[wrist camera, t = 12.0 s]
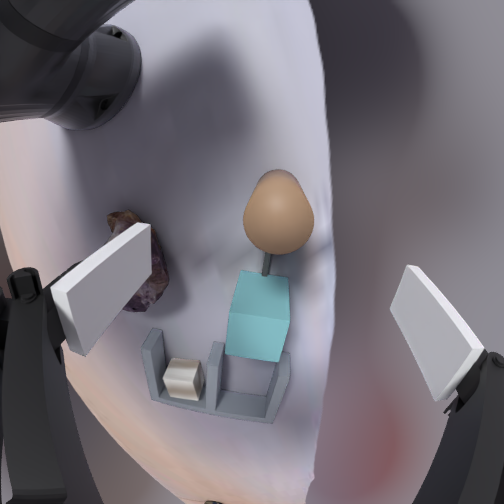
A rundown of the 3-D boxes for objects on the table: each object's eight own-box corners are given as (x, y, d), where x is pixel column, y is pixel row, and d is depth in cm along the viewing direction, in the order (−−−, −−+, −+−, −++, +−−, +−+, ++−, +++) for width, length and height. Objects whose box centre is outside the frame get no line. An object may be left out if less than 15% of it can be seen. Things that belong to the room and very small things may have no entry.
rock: (125, 275, 38) (186, 286, 37) (97, 313, 31) (165, 331, 30) (112, 203, 32) (181, 209, 31) (72, 235, 25) (149, 246, 24)
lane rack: (152, 328, 40) (140, 348, 35) (289, 352, 39) (290, 376, 35) (160, 380, 45) (151, 399, 41) (273, 402, 45) (272, 423, 40)
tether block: (254, 165, 29) (240, 180, 18) (308, 174, 29) (327, 194, 18) (235, 308, 37) (220, 373, 26) (279, 315, 37) (278, 382, 26)
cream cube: (171, 357, 42) (162, 378, 38) (199, 360, 42) (192, 382, 37) (178, 376, 44) (170, 396, 40) (204, 379, 44) (198, 400, 39)
